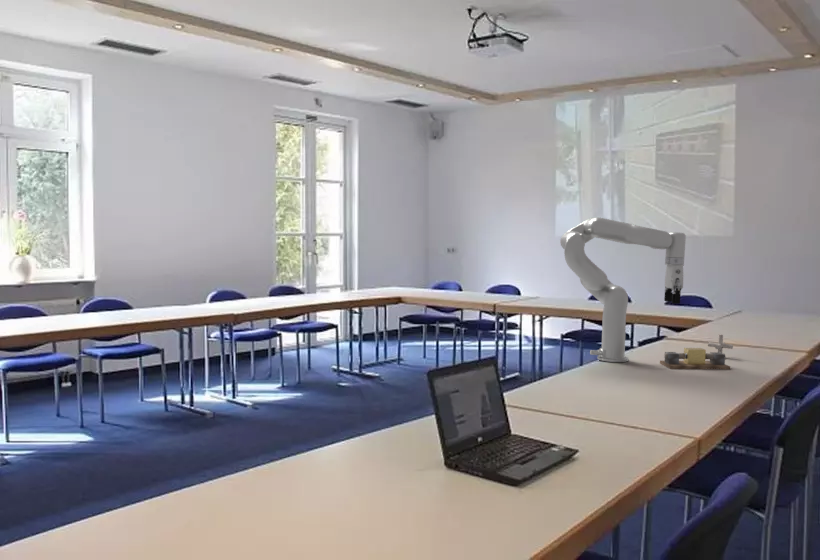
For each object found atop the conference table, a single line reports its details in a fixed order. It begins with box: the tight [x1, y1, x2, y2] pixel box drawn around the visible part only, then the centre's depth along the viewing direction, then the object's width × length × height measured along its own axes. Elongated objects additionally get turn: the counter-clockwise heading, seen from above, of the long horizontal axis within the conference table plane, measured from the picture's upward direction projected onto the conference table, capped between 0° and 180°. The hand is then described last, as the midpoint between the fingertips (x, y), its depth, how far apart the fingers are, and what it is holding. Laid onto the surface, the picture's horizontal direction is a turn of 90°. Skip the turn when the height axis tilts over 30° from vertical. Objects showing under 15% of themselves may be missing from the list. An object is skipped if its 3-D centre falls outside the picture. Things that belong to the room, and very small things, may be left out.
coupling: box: [683, 347, 707, 365], centre depth 301 cm, size 7×4×6 cm, turn 91°
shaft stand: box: [659, 351, 731, 370], centre depth 301 cm, size 24×12×5 cm, turn 91°
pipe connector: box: [707, 333, 734, 353], centre depth 324 cm, size 10×10×10 cm
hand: (671, 302), depth 313 cm, fingers open, 9 cm apart
